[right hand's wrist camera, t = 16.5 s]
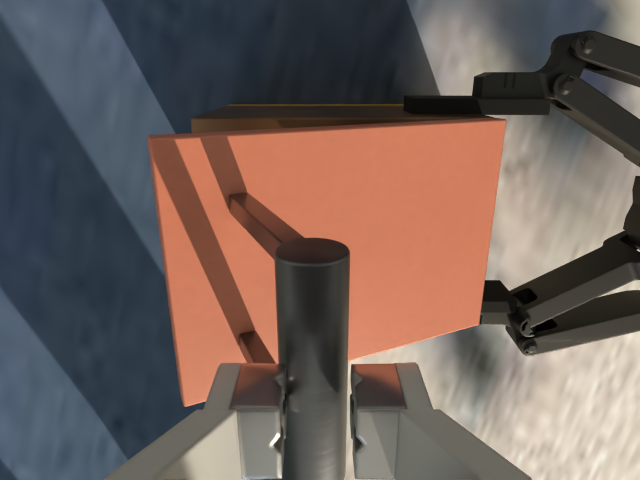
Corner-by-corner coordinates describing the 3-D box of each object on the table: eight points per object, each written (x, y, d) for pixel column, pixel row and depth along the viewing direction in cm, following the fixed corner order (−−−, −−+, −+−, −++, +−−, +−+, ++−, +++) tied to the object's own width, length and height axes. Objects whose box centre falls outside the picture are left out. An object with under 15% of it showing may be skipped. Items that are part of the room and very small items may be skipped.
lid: (179, 393, 18) (230, 590, 11) (146, 135, 15) (189, 189, 8) (466, 316, 24) (617, 416, 17) (491, 117, 20) (693, 139, 13)
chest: (239, 250, 32) (208, 315, 24) (229, 104, 29) (189, 117, 20) (430, 251, 32) (470, 316, 24) (443, 104, 29) (495, 117, 20)
